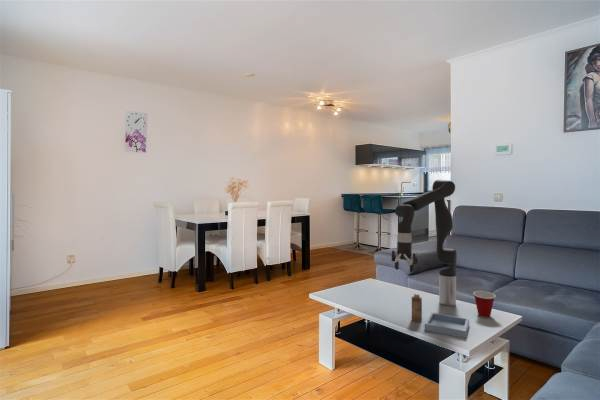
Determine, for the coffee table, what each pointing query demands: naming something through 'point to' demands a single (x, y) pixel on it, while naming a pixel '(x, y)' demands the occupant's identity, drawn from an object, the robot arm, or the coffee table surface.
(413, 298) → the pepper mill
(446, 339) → the coffee table surface
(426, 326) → the bin
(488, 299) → the plastic cup
